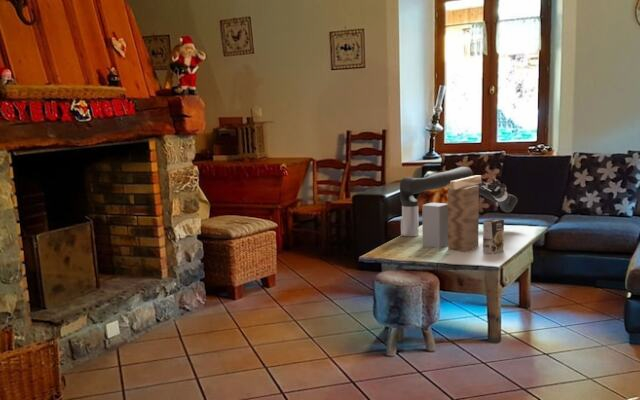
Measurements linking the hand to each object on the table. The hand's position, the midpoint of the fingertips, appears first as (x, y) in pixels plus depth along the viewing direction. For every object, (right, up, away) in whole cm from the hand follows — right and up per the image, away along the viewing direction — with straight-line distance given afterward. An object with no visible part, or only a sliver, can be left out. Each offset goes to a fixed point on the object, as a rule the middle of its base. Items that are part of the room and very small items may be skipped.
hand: (487, 181), depth 333 cm
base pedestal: (-30, -34, -8) cm, 46 cm away
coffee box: (-4, -36, -26) cm, 45 cm away
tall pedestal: (-17, -35, -17) cm, 42 cm away
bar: (-16, -3, -19) cm, 25 cm away
